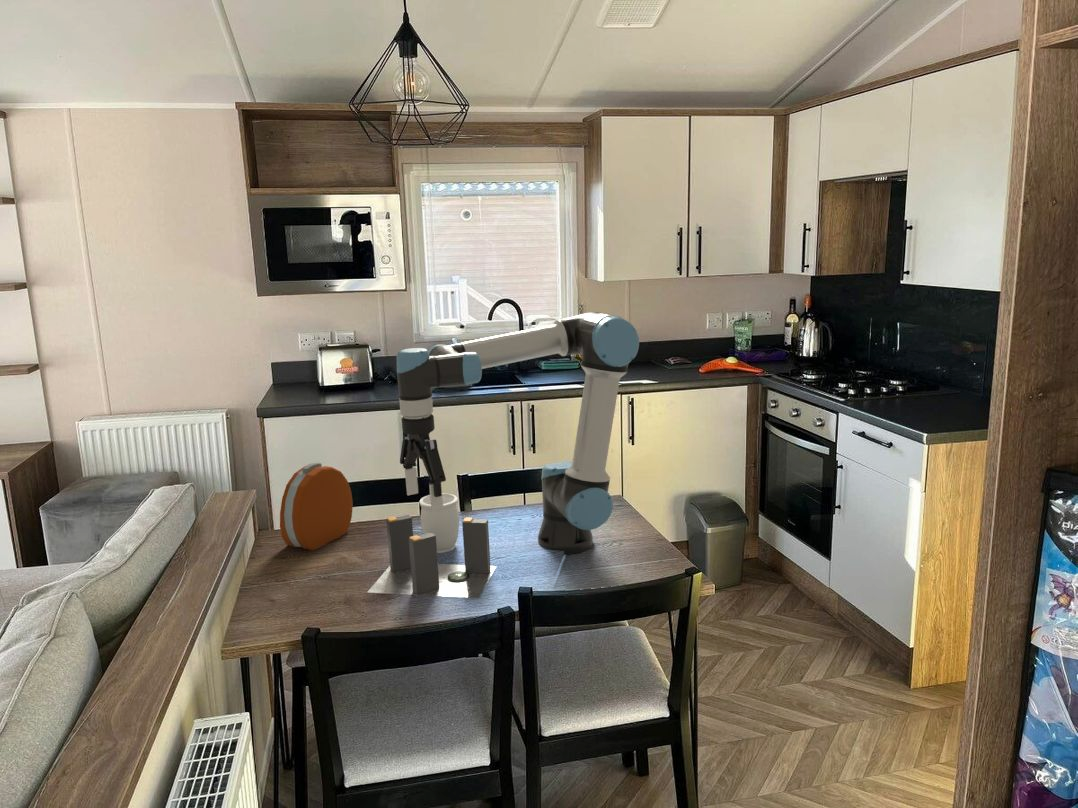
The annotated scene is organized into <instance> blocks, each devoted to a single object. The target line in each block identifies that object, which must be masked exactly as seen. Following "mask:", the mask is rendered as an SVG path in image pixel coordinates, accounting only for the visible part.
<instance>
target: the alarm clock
mask: <svg viewBox="0 0 1078 808" xmlns="http://www.w3.org/2000/svg"><path fill="white" fill-rule="evenodd" d="M352 496H353V495H352V491H351V487H350V484H349V481H348V479H347V478H346V476H345V475H344V473H342V471H341V470H339V469H336V468H335V467H332V466H328V465H326V466H322V463H321V462H312V463H309V464H307V465H305V466H303V467H302V468H299V470H297V471H296V472H295V473H293V475H292V477H290V479H289V480H288V482H287V484H286V485H285V489H284V491H283V495H282V498H281V503H280V511H279V529H280V535H281V537H282V540H283V541H284V543H285V544H286V545H287V546H288V545H289V546H288V547H291V546H293V548H296V547H299V548H303V549H304V550H306V549H308V551H315V550H314V549H316V548H318V547H320V546H321V547H323V546H325V545H327V544H328V542H329V543H330V541H331V542H333V541H334V539H335V540H337V539H338V538H340V537H342V536H344V535H346V534H347V532H348V530H349V528H350V525H351V522H352V518H353V507H354V505H353V502H354V501H353V497H352ZM337 537H338V538H337ZM332 540H333V541H332ZM326 543H327V544H326ZM324 544H325V545H324ZM322 545H323V546H322ZM321 547H320V548H321ZM318 549H319V548H318ZM316 550H317V549H316Z"/></svg>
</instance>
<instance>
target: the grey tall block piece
mask: <svg viewBox="0 0 1078 808" xmlns="http://www.w3.org/2000/svg"><path fill="white" fill-rule="evenodd" d="M461 523H462V538H463V539H462V540H463V556H464V565H465V572H467V573H489V571H490V570H491V567H490V566H491V553H490V552H491V551H490V549H491V548H490V535H489V534H490V533H489V531H490V530H489V519H486V518H485V519H484V518H481V519H479V518H474V517H471V516H470V517H468V516H467V517H464V519H463V520H462V522H461Z"/></svg>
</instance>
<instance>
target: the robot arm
mask: <svg viewBox="0 0 1078 808" xmlns="http://www.w3.org/2000/svg"><path fill="white" fill-rule="evenodd" d="M639 347H640V338H639V334H638V331H637V330H636V328H635V327H634V325H633V324H632V323H631V322H630V321H628V320H627V319H624V318H623V317H621V316H618V315H613V314H607V313H603V312H598V311H592V312H591V311H590V312H584V313H582V314H577V315H573V316H569V317H564V318H559V319H556V320H555V321H554V322H553V324H549V325H545V326H540V327H535V328H534V327H533V328H529V329H524V330H520V331H513V332H509V333H504V334H503V333H502V334H500V335H493V336H488V337H483V338H479V339H474V340H469V341H464V342H459V343H452V344H448V345H447V344H443V343H442V344H440V343H439V344H436V345H433V346H431V347H430V348H429V349H426V348H423V347H415V348H414V347H412V348H411V347H410V348H405V349H401V350H399V351H398V352H397V354H396V358H395V359H396V370H395V371H396V375H397V376H396V377H397V385H398V395H399V398H398V399H399V410H400V415H401V416H402V417H401V419H400V420H401V430H402V441H401V442H402V443H401V451H400V456H399V457H400V458H399V463H400V465H402V468H403V469H404V475H405V476H404V477H405V487H406V495H407V496H411V495H417V494H419V483H418V475H417V474H418V472H417V463H416V462H417V458H419V459H421V461H422V463H423V465H424V468H425V470H426V473H427V475H428V478H429V482H428V483H427V484H428V485H429V487H428V488H429V495H430V501H431V510H432V511H433V510H437V509H441V508H443V500H442V493H443V491H442V483H443V482H446V481H447V478H446V473H445V471H444V467H443V464H442V463H443V462H442V459H441V457H440V453H439V449H438V442H437V440H436V439H431V437H430V433H432V432H433V431H434V430H435V417H434V415H433V414H432V413H433V412H434V408H433V403H434V401H435V400H434V399H433V397H432V396H433V391H432V389H439V388H449V387H456V386H458V387H460V386H468V385H473V384H478V383H479V382H480V381H481V379H482V375H483V373H482V372H483V369H488V368H493V367H498V366H502V365H508V364H512V363H517V362H523V361H527V360H528V361H529V360H532V359H536V358H537V359H538V358H542V357H547V356H552V355H557V354H558V355H560V356H561V357H566V356H575V355H579V356H580V355H581V363H580V366H581V369H582V370H583V371H584V373H585V378H584V385H583V391H582V397H581V402H580V403H581V405H580V410H579V416H578V424H577V430H576V436H575V437H576V438H575V441H574V442H575V444H574V448H573V449H574V451H573V456H572V461H570V460H569V461H557V462H551V463H549V464H546V465H544V466H543V467H542V470H541V477H540V479H541V488H542V489H541V492H542V512H543V515H542V516H543V518H542V522H541V525H540V528H539V532H538V534H537V535H538V536H537V543H538V545H540V547H542V548H545V549H548V550H552V551H557V552H559V551H560V552H563V555H573V554H578V553H581V552H582V553H583V552H585V551H587V550H589V549H590V548H592V546H593V543H594V537H593V533H592V530H596V529H598V528H600V527H601V526H602V525H603V524H605V523H607V522H608V520H609V519H610V517H611V515H612V514H613V509H614V502H613V498H612V496H611V494H610V493H609V489H610V480H611V477H610V476H609V473H608V472H607V471H606V468H607V463H608V455H609V449H610V442H611V436H612V429H613V423H614V417H615V410H616V404H617V400H618V399H617V398H618V392H619V386H620V380H621V378H622V377H624V376H626V374H627V373H628V367H629V364H630V363H631V362H632V360H634V359H635V358H636V356H637V354H638V351H639Z"/></svg>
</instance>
